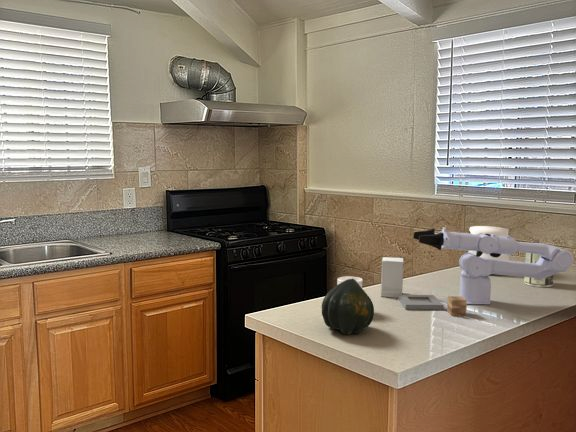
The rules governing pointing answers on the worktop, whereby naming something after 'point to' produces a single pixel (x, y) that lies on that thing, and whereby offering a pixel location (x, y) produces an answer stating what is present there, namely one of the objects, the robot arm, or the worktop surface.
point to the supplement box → (392, 277)
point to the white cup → (357, 279)
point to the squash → (347, 308)
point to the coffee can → (537, 281)
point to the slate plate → (420, 302)
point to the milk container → (488, 231)
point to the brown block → (456, 306)
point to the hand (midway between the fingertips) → (416, 237)
